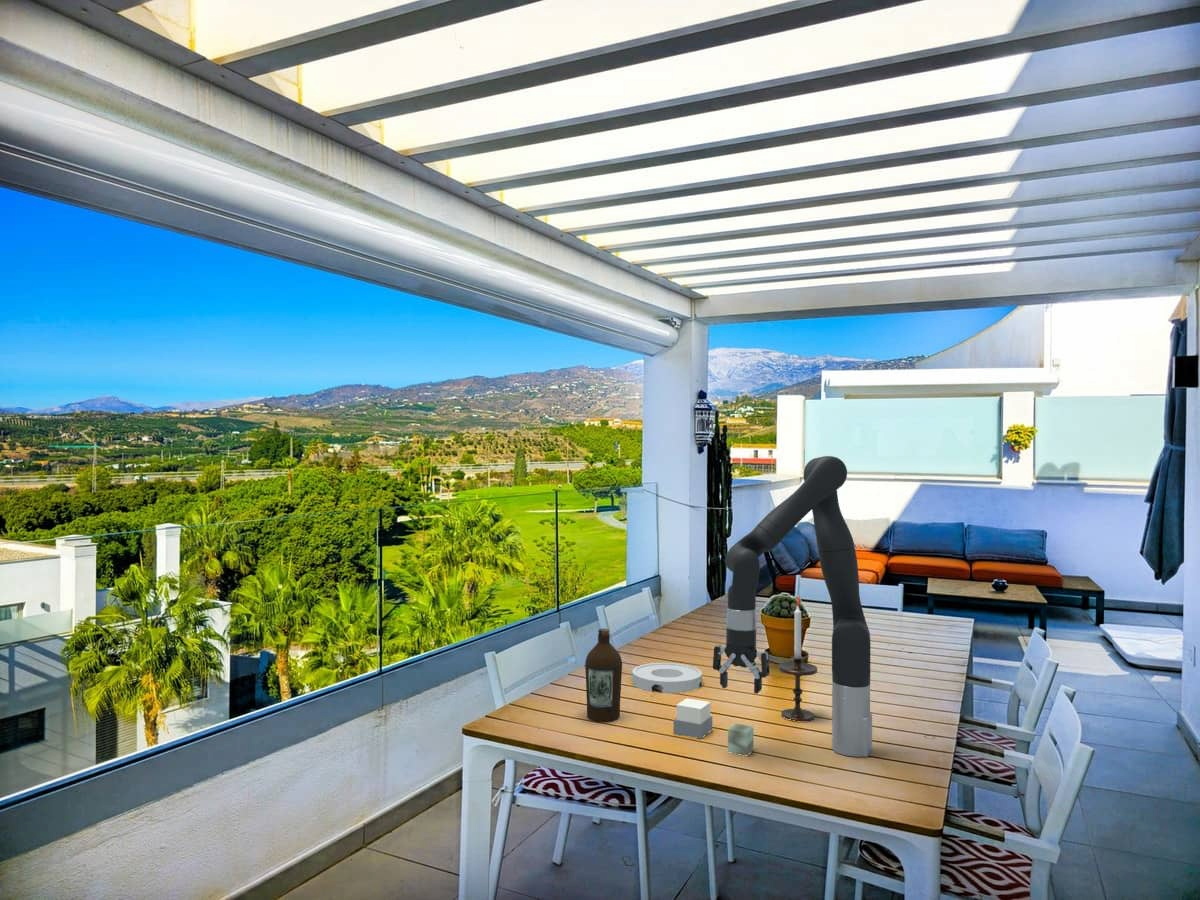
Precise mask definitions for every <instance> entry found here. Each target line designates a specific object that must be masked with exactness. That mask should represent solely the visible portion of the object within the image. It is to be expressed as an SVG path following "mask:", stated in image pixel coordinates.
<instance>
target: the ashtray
mask: <svg viewBox="0 0 1200 900" xmlns="http://www.w3.org/2000/svg"><path fill="white" fill-rule="evenodd" d="M631 682H632V685H633V686H634V687H636V688H637V689H640V690H642V691H647V692H650V693H651V692H652V691H653V689H656V690H658V691H660V692H661V693H663V694H681V693H680V692H684V693H688V692H687V691H690V692H693V691H692V690H694V689H697V688H699V689H700V686H701V685H702V686H703V672H702V670H701V669H699V668H698V667H695V666H693V665H689V664H688V665H687V664H685V663H684V664H683V663H682V664H681V663H677V662H676V663H675V662H674V663H673V662H654V663H653V662H652V663H645V664H641V665H637V666H636V667H633V668H632V670H631ZM699 684H700V685H699ZM697 690H698V689H697ZM694 691H695V690H694Z"/></svg>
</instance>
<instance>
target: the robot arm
mask: <svg viewBox="0 0 1200 900" xmlns="http://www.w3.org/2000/svg"><path fill="white" fill-rule="evenodd" d="M803 469H804V470H803V476H802V477H803V483H802V484H801V485H800V486H799V487H798V488H797V489H796V490H795V491H794V492H793V493H792V494H790V496H788V497H787V498H785V500H783V501H782V502H781V503H779V505H777V506H775V508H773V509H772V510H771V511H769V512H768V514H767V515H766V516H765V517H764V518H762V520H760V521H759V523H758V524H757V525H755V527H754V528H753V530H752V531H750V532H749V533H747V534H746V535H745V536H743V537H742V538H740V539H739V540H738V541H737V542H736V543H734V545H732V546H731V547H730V548H729V550H728V551H727V553H726V554H725V555H726V556H725V559H724V562H725V566H726V568H727V569H728V570H729V571H730V572H732V581H731V585H730V586H729V587H728V589H727V612H726V619H725V624H726V625H725V627H726V629H725V630H726V631H725V632H726V633H725V636H726V637H725V643H726V645H725V646H722V645H721V644H718V645H716V646H714V648H713V658H712V659H713V660H712V669H713V670H714V671H715V670H716V671H718V672H719V684H720V686H721V688H722V689H726V688H727V687H728V684H729V683H728V681H729V680H728V679H729V678H728V677H729V675H728V674H729V673H728V670H729V668H730V667H731V666H733V667H741V668H747V669H748V670H749V671H750V672H751V673H752V675H753V676H754V679H753V692H754V694H759V693H760V692H761V691H762V689H763V687H762V686H763V678H767V677H768V676H769V675H770V674H771V673H770V655H769V652H768V651H758V650H757V612H756V611H757V610H756V600H757V598H756V590H757V587H758V582H759V579H760V578H759V577H760V569H761V565H760V564H761V563H760V559H759V558H760V557H761V556H762V555H763V554H765V553H767V552H771V551H772V550H774V549H775V548H776V547H778V545H779V544H780V543H781V542H782V541H783V540H784V539H785V537H787V535H788V534H789V533H790V532H791V531H792V530H793V529H794V528H795V527H796V525H797V524H799V522H801V521H802V519H804V518H805V517H806V516H807V515H808V514H809V512H812V517H813V518H812V519H813V526H814V533H815V538H816V546H817V554H818V558H819V564H820V568H821V573H822V576H823V579H824V583H825V587H826V588H827V592H828V594H829V597H830V601H831V603H830V604H831V613H832V626H833V627H832V635H831V674H832V675H831V677H832V678H831V679H832V681H831V682H832V683H831V685H832V686H831V687H832V689H831V694H832V697H831V700H832V701H831V705H832V707H831V709H832V710H831V712H832V713H831V717H832V718H831V719H832V721H831V722H832V723H831V728H832V729H831V731H832V732H831V733H832V734H831V736H832V737H831V748H832V750H833V751H834V752H835V753H837V754H840V755H843V756H848V757H854V758H855V757H857V758H858V757H860V758H861V757H864V758H868V757H869V756H870V754H871V752H872V750H873V713H872V712H871V633H870V629H869V627H868V624H867V620H866V617H865V614H864V610H863V606H862V601H861V597H860V579H859V578H860V577H859V565H858V558H857V552H856V545H855V542H854V538H853V536H852V533H851V530H850V528H849V526H848V525H847V522H846V520H845V517H844V516H843V514H842V511H841V509H840V503H839V497H838V490H839V489H840V488H841V487H842V486H843V485H844V484H845V482H846V481H847V477H848V469H847V466H846V464H845V462H844V461H843V460H841V458H838V457H836V456H833V455H825V456H819V457H814V458H812V459H810V460H809V461H808V462H807V463H806V465H805V467H804V468H803ZM723 654H725V656H726V658H727V659H726V660H725V662H724V663H723V664H722V663H721V662H722V661H721V660H722V655H723ZM756 658H758V660H759V661H760V663H761V664H760V665H761V669H760V667H759V665H758V663H757V662H756Z"/></svg>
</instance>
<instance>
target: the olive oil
mask: <svg viewBox="0 0 1200 900" xmlns="http://www.w3.org/2000/svg"><path fill="white" fill-rule="evenodd" d="M597 631H598V634H597V643H596V644H595V645H594V647H592V649H591V650H590V651H589V652H588V653H587V654H586V658H585V663H584V664H585V665H584V666H585V667H584V670H585V688H586V690H585V691H586V693H585V694H586V718H587V719H589V720H590V721H593V722H598V723H609V722H615V721H617V720H618V719H620V715H621V694H622V693H621V692H622V676H623V675H622V673H623V660H622V656H621V654H620V653H619V651H618V650H617V649H616V648H615V647H614V645H612V643H610V639H611V638H610V637H611V635H610V629H609V628H599V629H598V630H597Z"/></svg>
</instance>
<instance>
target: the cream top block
mask: <svg viewBox="0 0 1200 900" xmlns="http://www.w3.org/2000/svg"><path fill="white" fill-rule="evenodd" d="M710 716H711V701H706V700H700V699H699V700H698V699H693V698H688V697H686V698H685V699H683V700H682V701H680V702H678V703H677V704H676V718H677V720H680V721H686V722H691V723H697V724H702V723H703V722H704V721H706V720H707V719H708V718H710Z"/></svg>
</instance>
